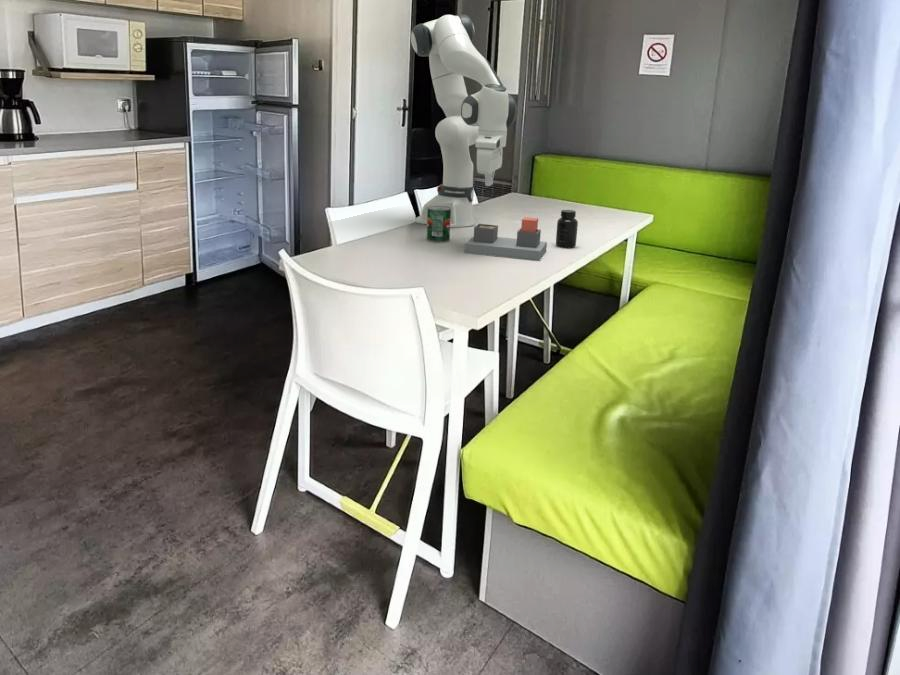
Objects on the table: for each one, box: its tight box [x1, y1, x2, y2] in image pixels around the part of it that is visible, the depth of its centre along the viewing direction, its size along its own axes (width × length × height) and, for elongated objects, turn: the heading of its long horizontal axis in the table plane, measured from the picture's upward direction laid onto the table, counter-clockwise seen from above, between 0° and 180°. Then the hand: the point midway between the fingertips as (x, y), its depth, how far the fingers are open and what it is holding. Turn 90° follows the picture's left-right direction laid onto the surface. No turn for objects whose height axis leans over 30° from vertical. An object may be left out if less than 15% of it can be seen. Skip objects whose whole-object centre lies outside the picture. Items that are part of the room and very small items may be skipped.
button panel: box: [464, 223, 548, 261], centre depth 230 cm, size 24×14×8 cm, turn 74°
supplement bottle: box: [555, 209, 579, 249], centre depth 240 cm, size 7×7×12 cm
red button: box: [520, 217, 539, 233], centre depth 226 cm, size 4×4×4 cm
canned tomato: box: [426, 206, 451, 243], centre depth 241 cm, size 8×8×11 cm
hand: (488, 185), depth 226 cm, fingers closed
